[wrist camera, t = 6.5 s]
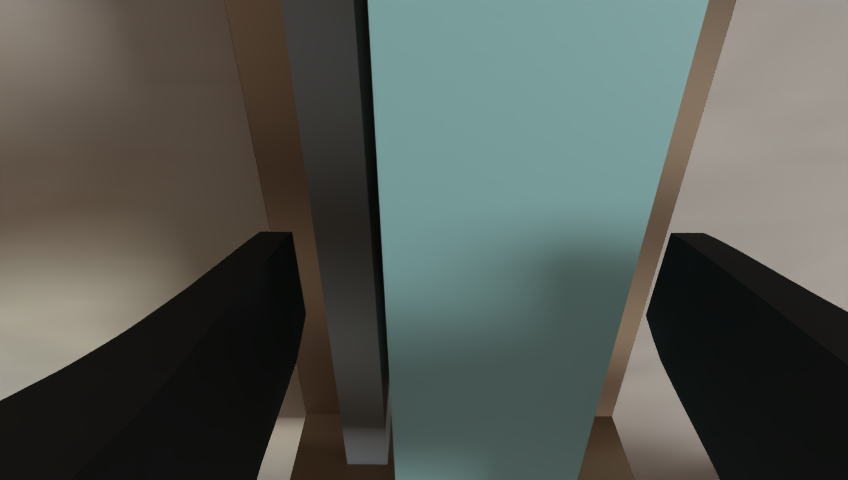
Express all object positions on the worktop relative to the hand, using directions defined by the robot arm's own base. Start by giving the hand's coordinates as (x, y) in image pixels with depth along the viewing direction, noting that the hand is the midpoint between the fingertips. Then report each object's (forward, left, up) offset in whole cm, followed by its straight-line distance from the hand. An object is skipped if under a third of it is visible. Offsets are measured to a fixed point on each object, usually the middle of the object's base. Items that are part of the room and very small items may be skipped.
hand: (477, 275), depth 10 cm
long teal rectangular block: (0, 0, -3) cm, 3 cm away
